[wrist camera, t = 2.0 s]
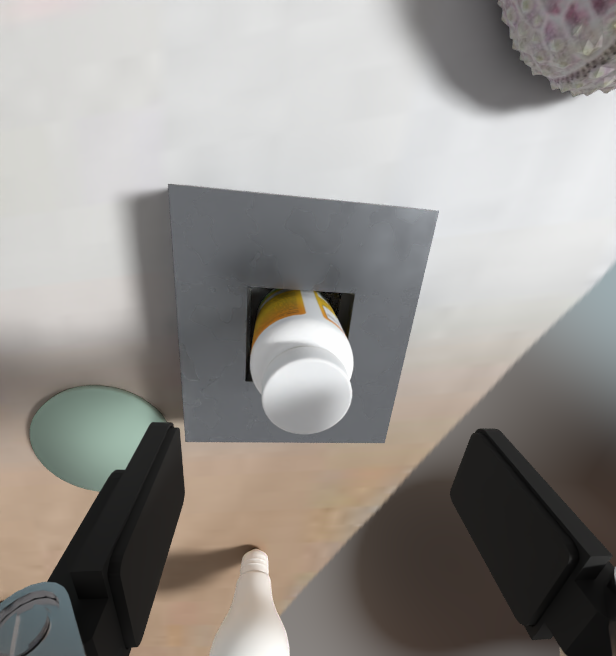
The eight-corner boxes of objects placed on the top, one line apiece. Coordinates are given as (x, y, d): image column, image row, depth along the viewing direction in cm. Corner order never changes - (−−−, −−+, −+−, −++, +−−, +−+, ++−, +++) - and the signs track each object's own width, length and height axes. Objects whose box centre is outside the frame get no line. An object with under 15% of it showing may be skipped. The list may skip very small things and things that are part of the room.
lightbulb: (265, 576, 34) (261, 740, 24) (212, 559, 32) (184, 729, 22) (298, 541, 32) (308, 701, 22) (244, 522, 30) (229, 686, 20)
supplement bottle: (249, 343, 23) (232, 438, 14) (265, 272, 21) (259, 330, 12) (319, 358, 24) (346, 455, 15) (342, 291, 22) (386, 358, 13)
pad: (176, 485, 28) (174, 491, 27) (50, 486, 26) (45, 493, 26) (168, 387, 24) (165, 391, 23) (20, 383, 23) (14, 388, 22)
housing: (371, 412, 27) (384, 443, 23) (197, 409, 25) (185, 441, 22) (413, 207, 21) (438, 211, 17) (186, 185, 19) (168, 183, 16)
